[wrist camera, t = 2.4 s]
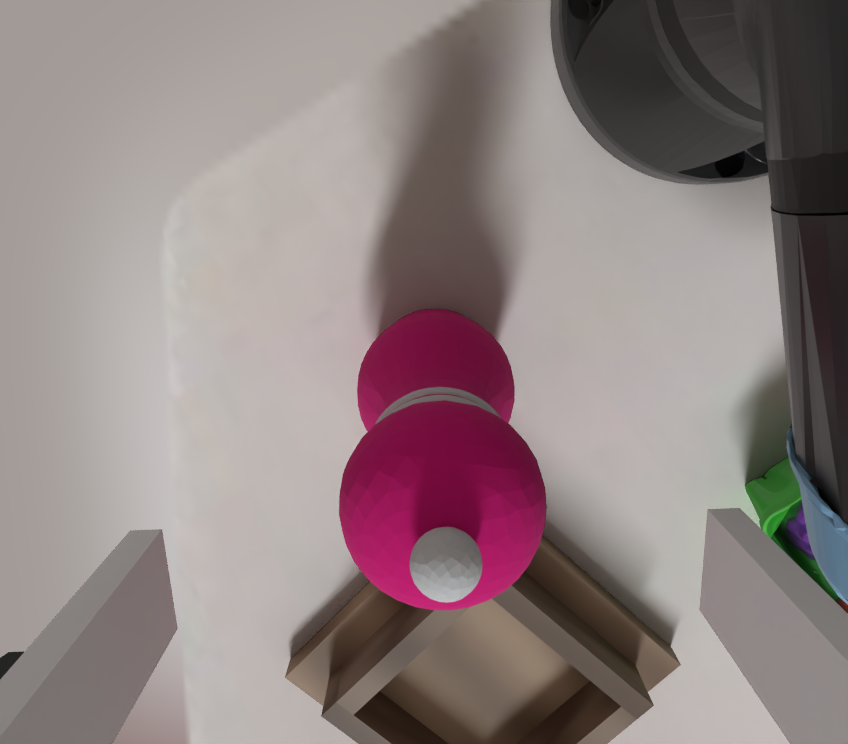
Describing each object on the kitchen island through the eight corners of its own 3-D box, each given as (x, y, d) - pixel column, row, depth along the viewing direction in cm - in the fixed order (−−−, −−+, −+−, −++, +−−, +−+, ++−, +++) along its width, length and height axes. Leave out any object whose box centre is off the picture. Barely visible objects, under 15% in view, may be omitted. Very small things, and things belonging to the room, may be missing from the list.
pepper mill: (362, 427, 35) (288, 706, 16) (368, 293, 33) (292, 427, 14) (496, 435, 35) (582, 722, 16) (509, 303, 34) (625, 447, 14)
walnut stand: (476, 477, 36) (483, 515, 32) (671, 647, 39) (702, 704, 34) (290, 659, 39) (273, 717, 35) (483, 804, 42) (489, 875, 38)
